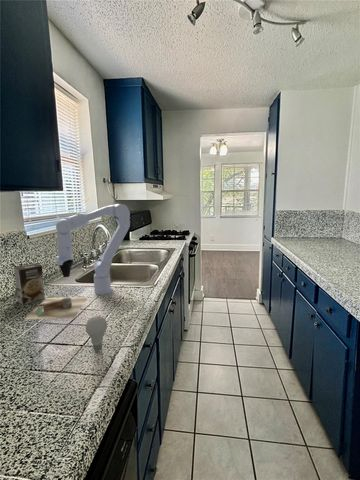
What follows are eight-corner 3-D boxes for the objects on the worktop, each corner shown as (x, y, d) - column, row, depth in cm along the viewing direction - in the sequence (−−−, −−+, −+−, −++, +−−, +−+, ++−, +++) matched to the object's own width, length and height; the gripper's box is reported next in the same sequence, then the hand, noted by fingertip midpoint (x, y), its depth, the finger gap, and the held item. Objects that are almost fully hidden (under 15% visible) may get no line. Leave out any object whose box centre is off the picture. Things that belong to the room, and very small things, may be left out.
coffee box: (23, 307, 105) (19, 270, 103) (17, 303, 109) (13, 267, 107) (45, 300, 113) (42, 265, 110) (38, 296, 116) (35, 262, 114)
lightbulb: (100, 342, 81) (99, 310, 79) (112, 349, 77) (110, 316, 75) (83, 351, 76) (81, 317, 74) (94, 359, 72) (92, 324, 70)
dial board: (47, 300, 113) (46, 297, 113) (88, 298, 114) (88, 296, 114) (24, 321, 93) (23, 318, 93) (74, 320, 95) (74, 317, 95)
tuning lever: (70, 303, 106) (70, 297, 106) (72, 306, 103) (72, 299, 103) (39, 310, 100) (38, 303, 99) (40, 313, 97) (39, 306, 96)
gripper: (61, 243, 117) (63, 271, 119) (48, 250, 103) (50, 282, 105) (77, 243, 118) (78, 271, 120) (66, 250, 104) (68, 281, 106)
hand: (66, 276), depth 113 cm, fingers closed
